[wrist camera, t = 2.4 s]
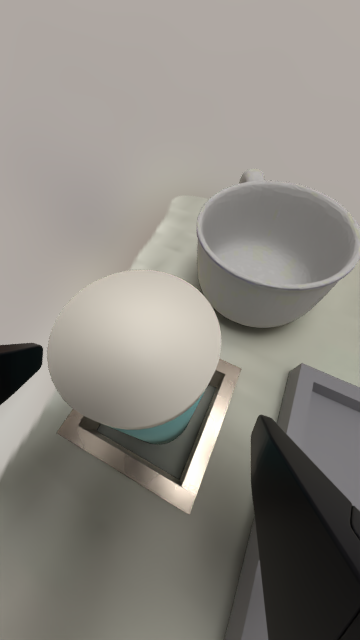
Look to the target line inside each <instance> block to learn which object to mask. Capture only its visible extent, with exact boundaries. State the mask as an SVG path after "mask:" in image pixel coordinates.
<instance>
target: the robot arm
mask: <svg viewBox="0 0 360 640" xmlns="http://www.w3.org/2000/svg"><path fill="white" fill-rule="evenodd" d="M42 357H43V348H42V346H41V345H37V344H35V343H26V344H25V343H24V344H11V345H0V405H1V404H2V403H3V402H5V401H6V400H7V399H8V398H9V397H10V396H11V395H12V394H14V393H15V392H16V391H17V390H18V389H19V388H20V387H21V386H22V385H23V384H24V383H25V382H27V380H29V379H30V378H31V377H32V376H33V375H34V374H35V373H36V372H37V371H38V370H39V369H40V367H41V365H42ZM251 487H252V496H253V505H254V515H255V524H256V533H257V542H258V551H259V560H260V569H261V578H262V587H263V597H264V606H265V615H266V624H267V633H268V640H360V511H359V510H358V509H357V508H356V507H355V506H352V503H351V502H350V501H349V499H348V498H347V497H346V496H345V495H344V494H343V493H342V492H341V491H340V490H339V489H338V488H337V487H336V486H335V485H334V484H333V483H332V482H331V480H330V479H329V478H328V477H327V476H326V475H325V474H324V473H323V472H322V471H321V470H320V469H319V468H318V467H317V466H316V465H315V464H314V463H313V461H312V460H311V459H310V458H309V457H308V456H307V455H306V454H305V453H304V452H303V451H302V450H301V449H300V448H299V447H298V446H297V445H296V444H295V442H294V441H293V440H292V439H291V438H290V437H289V436H288V435H287V434H286V433H285V432H284V431H283V430H282V429H281V428H280V427H279V426H278V425H277V424H276V422H275V421H274V420H273V419H272V418H270V417H267V416H264V415H259V416H258V418H257V421H256V423H255V426H254V429H253V431H252V434H251Z"/></svg>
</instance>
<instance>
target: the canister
mask: <svg viewBox="0 0 360 640" xmlns="http://www.w3.org/2000/svg"><path fill="white" fill-rule="evenodd" d="M220 352H221V331H220V326H219V322H218V319H217V316H216V314H215V311H214V310H213V308H212V306H211V304H210V303H209V302H208V300H207V299H206V298H205V296H204V295H203V294H202V293H201V292H200V291H199V290H198V289H196V288H195V287H194V286H192V285H191V284H190V283H188V282H186V281H185V280H183V279H181V278H179V277H176V276H174V275H171V274H168V273H164V272H160V271H154V270H129V271H124V272H119V273H115V274H111V275H109V276H106V277H103V278H101V279H99V280H97V281H95V282H93V283H91V284H90V285H88V286H87V287H85V288H84V289H82V290H81V291H80V292H79V293H77V294H76V295H75V296H74V297H73V298H72V299H71V300H70V301H69V302H68V303H67V305H66V306H65V307H64V308H63V309H62V311H61V312H60V314H59V316H58V317H57V319H56V321H55V323H54V326H53V328H52V331H51V334H50V337H49V343H48V348H47V360H48V368H49V372H50V375H51V379H52V381H53V383H54V385H55V387H56V389H57V391H58V392H59V394H60V395H61V396H62V398H63V399H64V400H65V401H66V402H67V403H68V404H69V405H70V406H71V407H72V408H73V409H74V410H76V411H77V412H79V413H80V414H82V415H83V416H85V417H87V418H90V419H92V420H94V421H96V422H99V423H101V424H103V425H106V426H108V427H111V428H113V429H116V430H118V431H121V432H123V433H125V434H128V435H130V436H133V437H135V438H138V439H140V440H143V441H145V442H148V443H151V444H165V443H168V442H171V441H173V440H174V439H176V438H177V437H178V436H180V435H181V434H182V432H183V431H184V430H185V428H186V427H187V425H188V423H189V421H190V419H191V417H192V415H193V413H194V411H195V409H196V407H197V405H198V403H199V402H200V400H201V398H202V396H203V394H204V392H205V390H206V388H207V386H208V384H209V382H210V380H211V378H212V376H213V374H214V372H215V370H216V367H217V364H218V361H219V358H220Z"/></svg>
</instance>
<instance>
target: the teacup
mask: <svg viewBox="0 0 360 640" xmlns="http://www.w3.org/2000/svg"><path fill="white" fill-rule="evenodd" d="M197 237H198V247H197V268H198V279H199V283H200V287H201V289H202V292H203V294H204V296H205V297H206V299H207V300H208V302H209V303H210V304H211V306H212V307H213V308H214V309H215V310H217V311H218V312H219V313H220V314H222V315H223V316H225V317H226V318H228V319H230V320H232V321H234V322H237V323H239V324H242V325H245V326H250V327H258V328H269V327H277V326H281V325H285V324H288V323H290V322H292V321H294V320H297V319H298V318H300V317H301V316H303V315H304V314H306V313H307V312H308V311H310V310H311V309H312V308H313V307H314V306H315V305H316V304H317V303H318V302H319V301H320V300H321V299H322V298H323V297H324V296H325V295H326V294H327V293H328V292H329V291H330V290H331V289H332V288H333V287H334V286H335V285H336V283H337V282H338V281H339V280H341V279H342V278H344V277H345V276H346V275H347V274H348V273H349V272H350V271H351V270H352V269H353V268H354V267H355V265H356V264H357V262H358V261H359V259H360V227H359V225H358V223H357V222H356V221H355V219H354V218H353V216H352V215H351V214H350V213H349V212H348V211H347V210H346V209H345V208H344V207H343V206H342V205H341V204H339V203H338V202H337V201H336V200H334V199H332V198H331V197H329V196H327V195H325V194H323V193H321V192H319V191H317V190H315V189H311V188H309V187H306V186H303V185H300V184H294V183H289V182H279V181H272V180H270V181H265V177H264V174H263V172H262V171H261V170H260V169H249V170H247V171H245V172H244V173H243V175H242V177H241V179H240V182H239V184H237V185H233V186H230V187H227V188H225V189H223V190H221V191H219V192H218V193H216V194H215V195H213V196H212V197H211V198H210V199H209V200H208V201H207V202H206V203H205V204H204V206H203V207H202V209H201V211H200V213H199V216H198V219H197Z"/></svg>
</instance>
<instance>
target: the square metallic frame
mask: <svg viewBox="0 0 360 640" xmlns="http://www.w3.org/2000/svg"><path fill="white" fill-rule="evenodd" d="M240 372H241V368H239V367H237V366H235V365H232V364H230V363H228V362H226V361H223V360H221V359H219V361H218V364H217V367H216V370H215V372H214V374H213V376H212V378H211V380H210V382H209V385H211V386H213V387H215V388H216V390H215V393H214V395H213V398H212V400H211V403H210V405H209V408H208V410H207V413H206V415H205V418H204V420H203V423H202V425H201V428H200V430H199V433H198V435H197V438H196V440H195V443H194V445H193V448H192V450H191V453H190V455H189V458H188V460H187V463H186V465H185V468H184V470H183V473H182V475H181V478H180V480H179V479H177V478H176V477H174V476H172V475H170V474H169V473H167V472H165V471H164V470H162V469H160V468H159V467H157V466H155V465H153V464H152V463H150V462H148V461H147V460H145V459H143V458H142V457H140V456H138V455H136V454H135V453H133V452H131V451H130V450H128V449H126V448H125V447H123V446H121V445H119V444H118V443H116V442H114V441H113V440H111V439H109V438H108V437H106V436H104V435H103V434H101V433H99V432H97V431H96V430H97V429H98V427H99V425H100V424H101V423H99V422H96V421H94V420H92V419H90V418H87V417H85V416H83V415H82V414H80V413H79V412H77V411H76V410H74V409H73V410H72V411H71V413H70V414H69V415H68V417H67V418H66V420H65V421H64V423H63V424H62V426H61V427H60V429H59V430H58V431H57V433H58V434H59V435H61V436H62V437H64V438H66V439H67V440H69V441H70V442H72V443H74V444H75V445H77V446H79V447H80V448H82V449H83V450H85V451H87V452H88V453H90V454H92V455H93V456H95V457H96V458H98V459H100V460H101V461H103V462H105V463H106V464H108V465H109V466H111V467H113V468H114V469H116V470H117V471H119V472H121V473H122V474H124V475H126V476H127V477H129V478H130V479H132V480H134V481H135V482H137V483H139V484H140V485H142V486H143V487H145V488H147V489H148V490H150V491H151V492H153V493H155V494H156V495H158V496H160V497H161V498H163V499H164V500H166V501H168V502H169V503H171V504H173V505H174V506H176V507H177V508H179V509H181V510H182V511H184V512H186V513H187V514H190V512H191V509H192V506H193V503H194V500H195V498H196V495H197V492H198V489H199V486H200V484H201V481H202V478H203V475H204V472H205V470H206V467H207V464H208V461H209V458H210V456H211V453H212V450H213V447H214V444H215V442H216V439H217V436H218V433H219V430H220V428H221V425H222V422H223V419H224V416H225V414H226V411H227V408H228V405H229V402H230V400H231V397H232V394H233V391H234V388H235V386H236V383H237V380H238V377H239V375H240Z"/></svg>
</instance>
